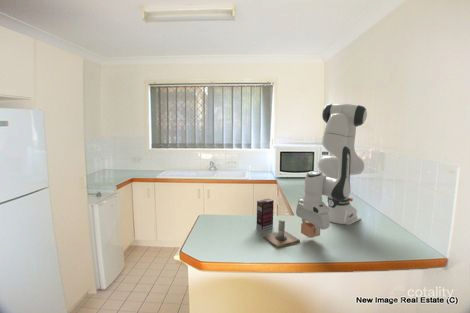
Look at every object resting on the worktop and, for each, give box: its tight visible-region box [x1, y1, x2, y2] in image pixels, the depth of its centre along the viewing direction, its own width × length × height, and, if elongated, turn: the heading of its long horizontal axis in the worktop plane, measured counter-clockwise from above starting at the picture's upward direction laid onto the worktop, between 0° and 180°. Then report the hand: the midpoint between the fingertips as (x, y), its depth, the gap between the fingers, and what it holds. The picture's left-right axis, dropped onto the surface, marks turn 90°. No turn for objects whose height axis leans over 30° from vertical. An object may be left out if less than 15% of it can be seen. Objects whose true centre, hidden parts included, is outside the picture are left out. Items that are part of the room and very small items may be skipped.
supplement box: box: [256, 198, 275, 232], centre depth 149 cm, size 9×5×16 cm, turn 126°
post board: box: [262, 219, 301, 249], centre depth 135 cm, size 14×12×10 cm
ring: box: [300, 221, 321, 239], centre depth 136 cm, size 7×7×5 cm
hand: (310, 230), depth 136 cm, fingers closed on ring, 7 cm apart
